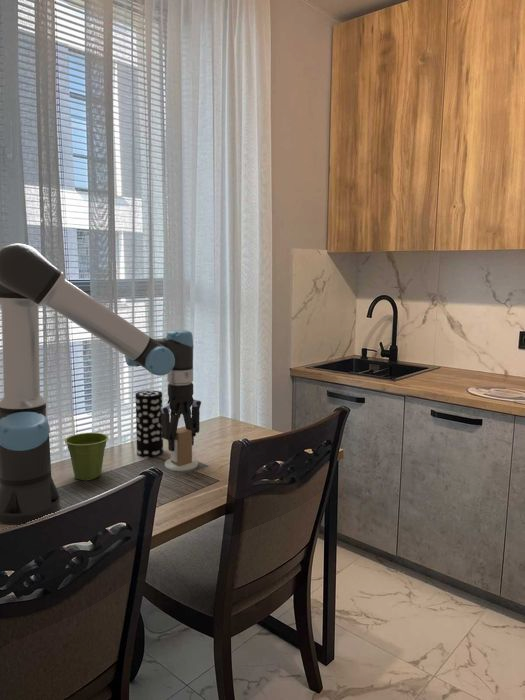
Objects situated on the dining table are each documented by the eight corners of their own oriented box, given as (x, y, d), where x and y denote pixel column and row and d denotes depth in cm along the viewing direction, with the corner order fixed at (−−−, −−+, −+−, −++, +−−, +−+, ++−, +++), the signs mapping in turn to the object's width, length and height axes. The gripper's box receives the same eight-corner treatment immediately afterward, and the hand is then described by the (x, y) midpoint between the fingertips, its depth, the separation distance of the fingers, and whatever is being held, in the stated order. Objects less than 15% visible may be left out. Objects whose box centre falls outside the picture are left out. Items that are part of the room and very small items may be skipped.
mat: (176, 477, 153) (176, 476, 152) (153, 466, 161) (153, 465, 161) (209, 467, 161) (209, 466, 161) (186, 457, 169) (186, 455, 169)
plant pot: (116, 477, 153) (115, 439, 151) (76, 487, 145) (74, 447, 143) (99, 465, 161) (97, 429, 160) (59, 474, 154) (58, 437, 152)
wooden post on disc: (177, 474, 154) (176, 437, 152) (158, 465, 161) (157, 430, 159) (204, 466, 161) (204, 430, 159) (185, 457, 168) (185, 423, 166)
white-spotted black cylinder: (166, 450, 175) (165, 391, 172) (159, 459, 167) (157, 397, 164) (141, 449, 176) (140, 390, 173) (133, 458, 168) (131, 396, 165)
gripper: (162, 389, 148) (163, 469, 152) (211, 380, 160) (212, 455, 164) (147, 384, 154) (149, 462, 157) (196, 376, 166) (197, 448, 169)
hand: (181, 458), depth 161 cm, fingers closed on wooden post on disc, 4 cm apart
